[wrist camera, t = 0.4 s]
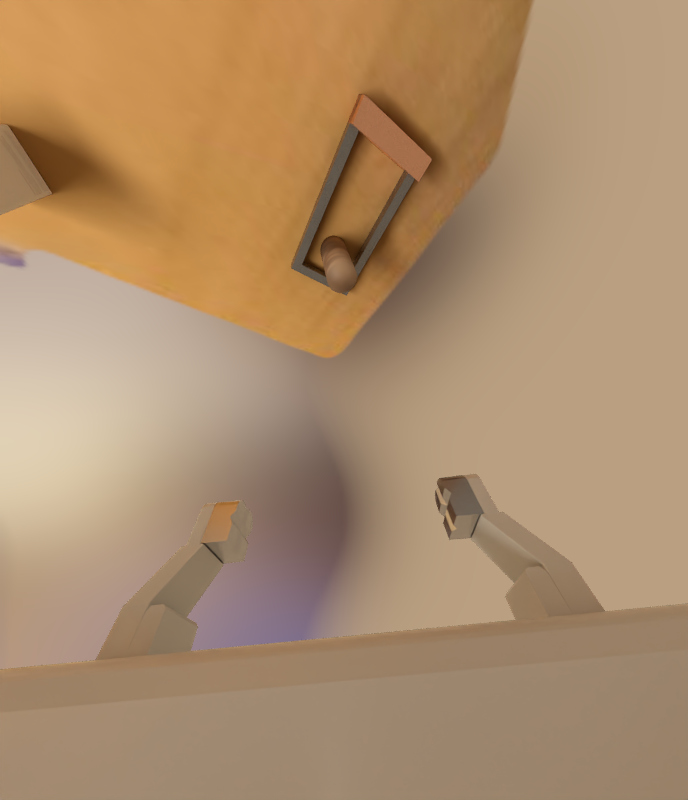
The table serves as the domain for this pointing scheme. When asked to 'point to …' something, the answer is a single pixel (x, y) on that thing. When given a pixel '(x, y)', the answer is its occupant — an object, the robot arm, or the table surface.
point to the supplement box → (17, 174)
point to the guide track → (377, 132)
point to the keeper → (338, 265)
